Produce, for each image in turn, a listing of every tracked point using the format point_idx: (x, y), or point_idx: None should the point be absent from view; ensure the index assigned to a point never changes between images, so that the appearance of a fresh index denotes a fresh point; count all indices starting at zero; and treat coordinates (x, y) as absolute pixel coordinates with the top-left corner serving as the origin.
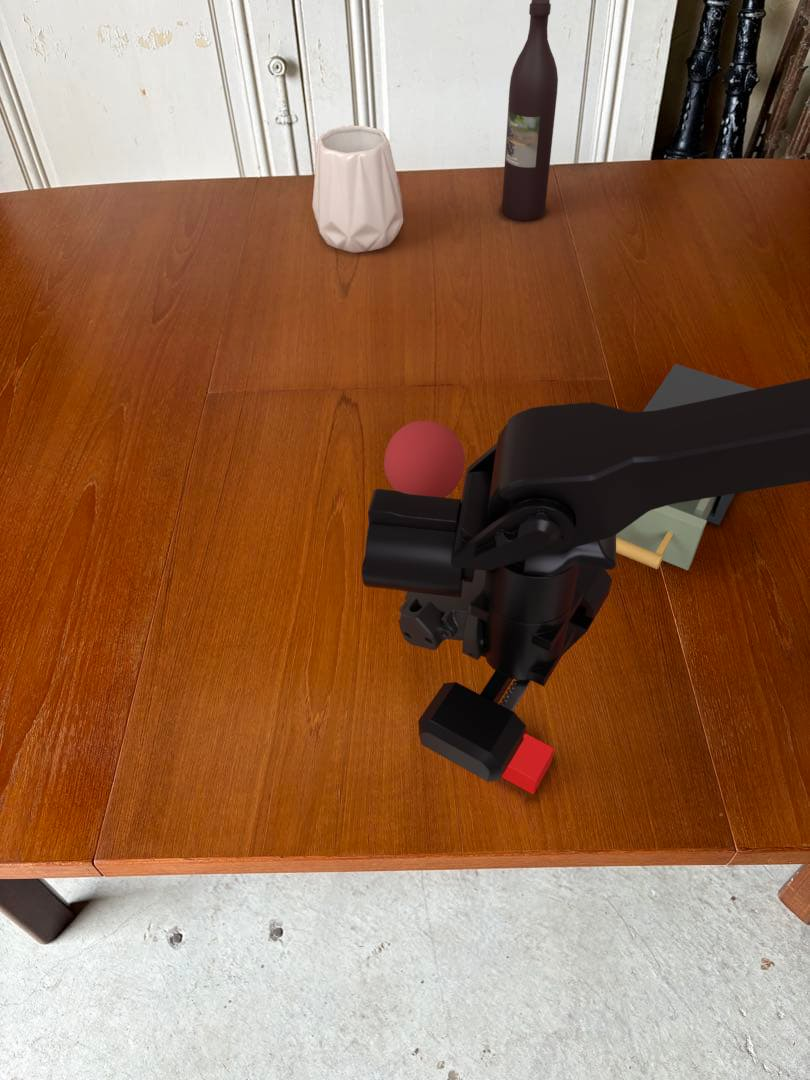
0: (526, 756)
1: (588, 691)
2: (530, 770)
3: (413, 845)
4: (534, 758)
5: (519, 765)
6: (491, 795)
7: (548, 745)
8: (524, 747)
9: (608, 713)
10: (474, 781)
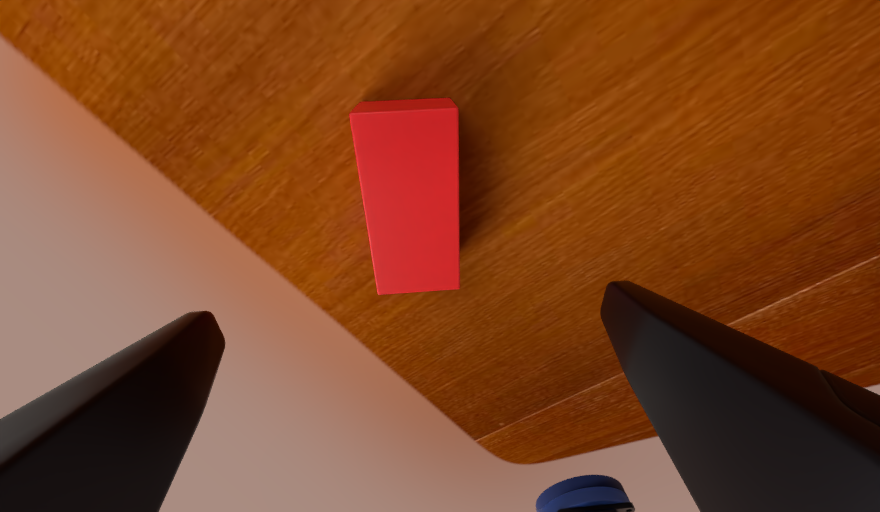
0: (411, 258)
1: (618, 242)
2: (390, 277)
3: (124, 134)
4: (417, 271)
5: (385, 257)
6: (330, 206)
7: (459, 278)
8: (426, 247)
9: (586, 284)
10: (330, 164)
